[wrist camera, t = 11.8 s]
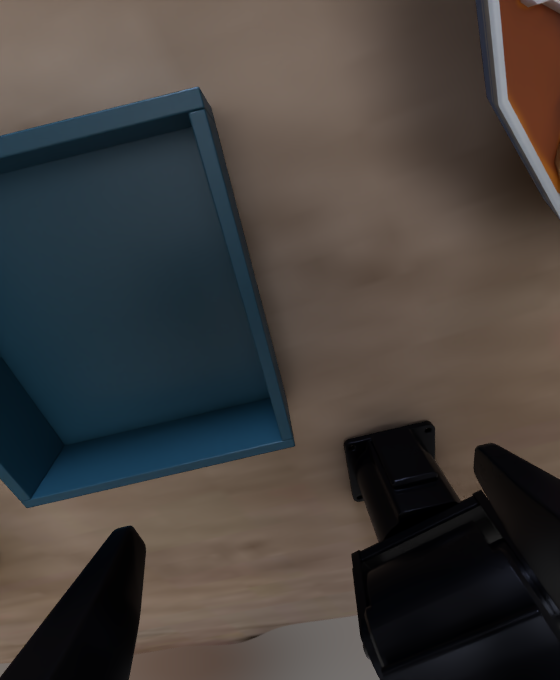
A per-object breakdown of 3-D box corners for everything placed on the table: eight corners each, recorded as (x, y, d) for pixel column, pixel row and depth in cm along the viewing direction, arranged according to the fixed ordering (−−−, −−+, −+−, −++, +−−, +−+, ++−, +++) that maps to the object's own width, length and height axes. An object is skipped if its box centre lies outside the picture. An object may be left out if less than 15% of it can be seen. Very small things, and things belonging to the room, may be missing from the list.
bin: (286, 398, 22) (295, 446, 18) (63, 450, 22) (26, 508, 19) (210, 106, 15) (199, 85, 11) (-127, 189, 15) (-254, 198, 11)
